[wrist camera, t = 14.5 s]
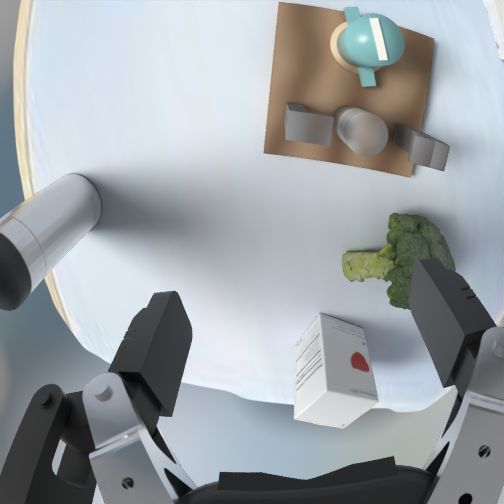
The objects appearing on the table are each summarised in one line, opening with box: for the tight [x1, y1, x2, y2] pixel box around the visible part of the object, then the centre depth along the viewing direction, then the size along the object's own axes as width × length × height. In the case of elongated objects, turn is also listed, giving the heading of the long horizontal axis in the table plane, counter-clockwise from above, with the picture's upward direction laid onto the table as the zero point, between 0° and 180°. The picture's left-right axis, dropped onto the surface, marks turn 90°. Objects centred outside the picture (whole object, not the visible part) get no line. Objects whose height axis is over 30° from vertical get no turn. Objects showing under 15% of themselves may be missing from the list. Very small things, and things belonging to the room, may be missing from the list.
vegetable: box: [342, 213, 455, 310], centre depth 36 cm, size 12×13×15 cm
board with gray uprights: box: [264, 2, 450, 177], centre depth 25 cm, size 18×18×12 cm
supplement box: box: [294, 313, 379, 428], centre depth 44 cm, size 9×9×15 cm
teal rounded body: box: [337, 7, 405, 87], centre depth 23 cm, size 9×5×7 cm, turn 13°
